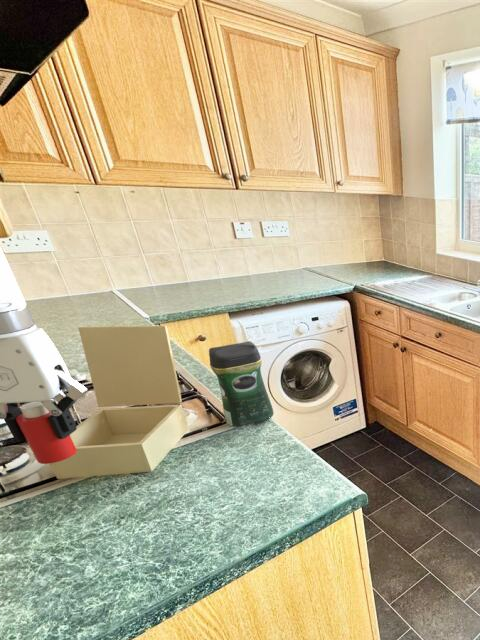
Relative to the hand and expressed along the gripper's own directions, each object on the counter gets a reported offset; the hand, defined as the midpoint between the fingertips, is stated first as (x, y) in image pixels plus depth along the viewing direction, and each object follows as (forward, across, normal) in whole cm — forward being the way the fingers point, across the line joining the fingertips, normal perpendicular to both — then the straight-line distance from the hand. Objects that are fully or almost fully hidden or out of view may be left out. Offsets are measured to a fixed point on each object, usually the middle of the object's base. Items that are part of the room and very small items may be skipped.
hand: (47, 434), depth 65 cm
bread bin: (+14, 0, +15) cm, 20 cm away
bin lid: (-1, 0, +24) cm, 24 cm away
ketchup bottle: (+4, 0, 0) cm, 4 cm away
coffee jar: (+14, +18, +27) cm, 35 cm away
